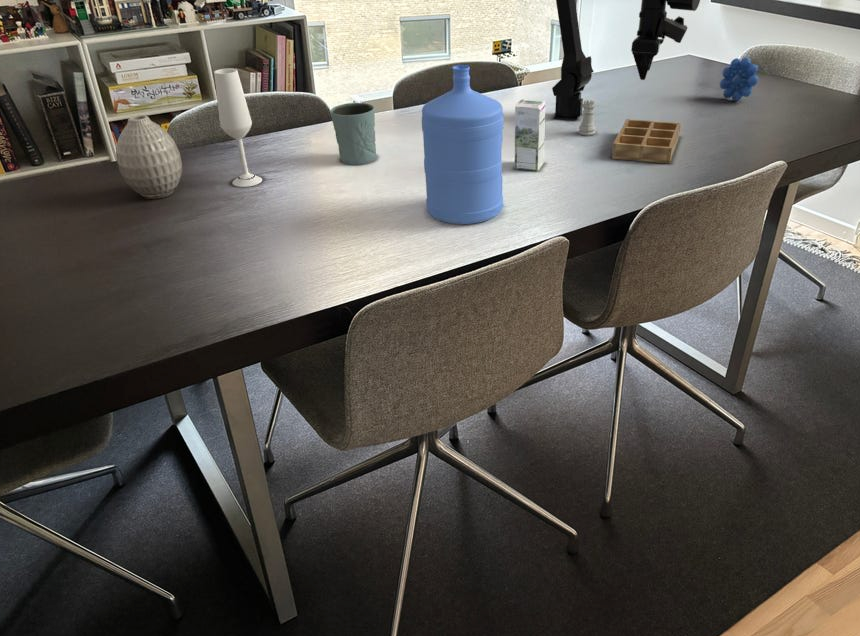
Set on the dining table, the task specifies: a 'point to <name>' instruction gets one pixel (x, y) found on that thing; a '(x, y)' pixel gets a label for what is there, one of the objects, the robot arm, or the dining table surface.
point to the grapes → (739, 78)
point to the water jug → (463, 153)
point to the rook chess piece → (587, 119)
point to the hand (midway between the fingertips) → (644, 74)
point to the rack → (646, 141)
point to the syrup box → (529, 134)
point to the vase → (148, 158)
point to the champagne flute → (234, 116)
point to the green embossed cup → (355, 132)
